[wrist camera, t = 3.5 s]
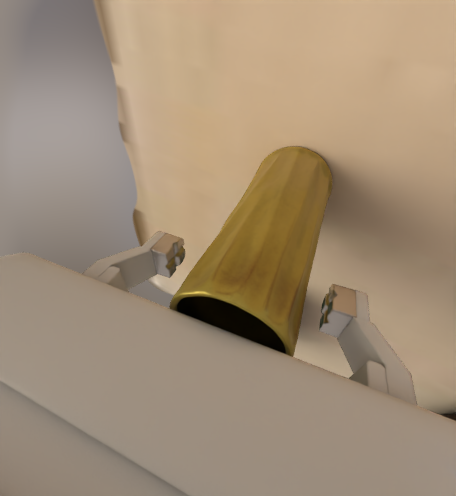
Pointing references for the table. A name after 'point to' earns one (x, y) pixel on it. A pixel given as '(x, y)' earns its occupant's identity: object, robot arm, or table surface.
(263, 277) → the vase
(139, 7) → the table surface
